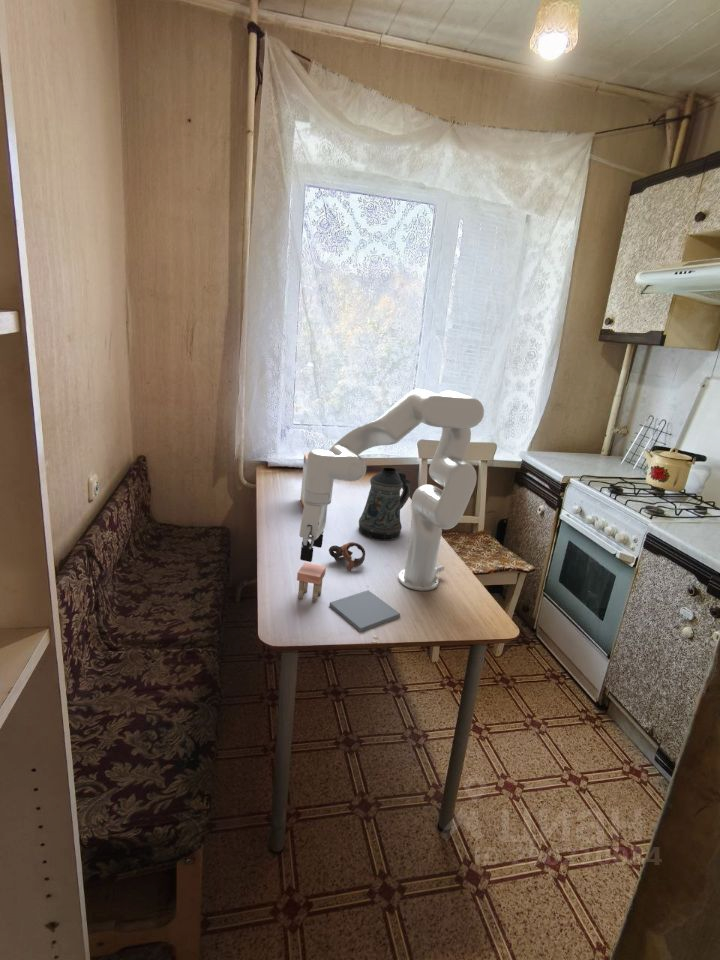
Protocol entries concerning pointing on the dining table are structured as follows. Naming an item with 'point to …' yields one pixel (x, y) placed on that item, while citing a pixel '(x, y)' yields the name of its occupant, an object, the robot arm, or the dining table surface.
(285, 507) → the dining table surface
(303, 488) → the cracker box
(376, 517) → the beer stein
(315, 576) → the stool
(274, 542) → the dining table surface
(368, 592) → the slate mat
